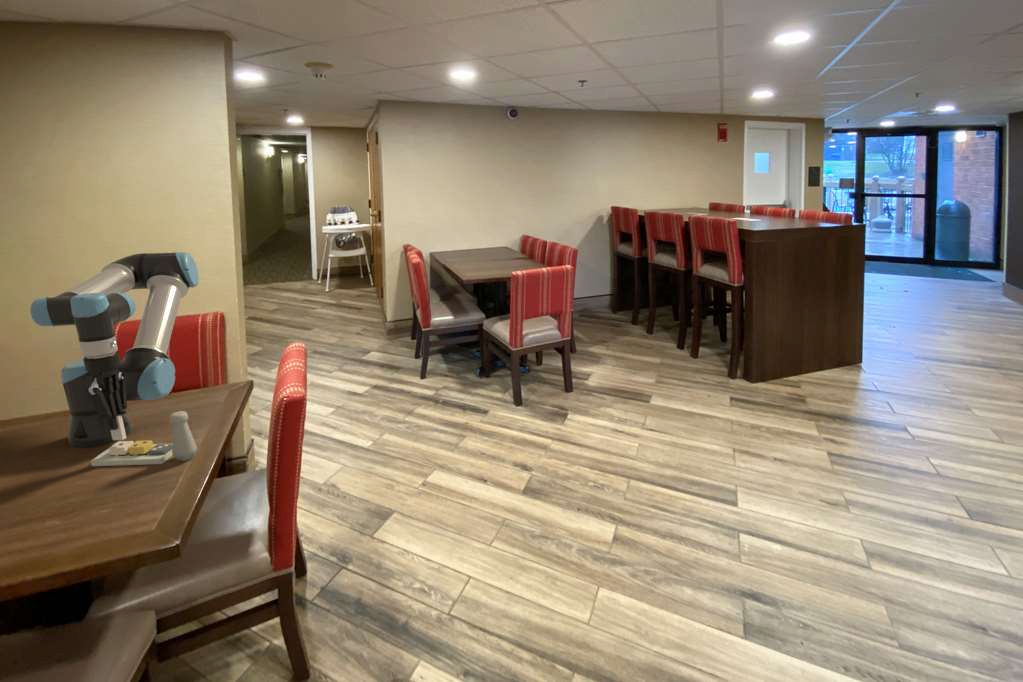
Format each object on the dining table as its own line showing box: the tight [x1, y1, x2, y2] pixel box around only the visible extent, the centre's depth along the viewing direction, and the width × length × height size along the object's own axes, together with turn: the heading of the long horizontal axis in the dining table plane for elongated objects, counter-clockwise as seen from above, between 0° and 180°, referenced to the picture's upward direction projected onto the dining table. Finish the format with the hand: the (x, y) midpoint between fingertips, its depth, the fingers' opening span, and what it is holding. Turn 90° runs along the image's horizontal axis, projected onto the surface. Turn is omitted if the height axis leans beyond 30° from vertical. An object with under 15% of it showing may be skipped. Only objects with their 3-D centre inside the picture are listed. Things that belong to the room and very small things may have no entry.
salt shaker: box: [168, 410, 198, 462], centre depth 149 cm, size 6×6×13 cm
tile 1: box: [108, 440, 135, 456], centre depth 151 cm, size 4×4×2 cm
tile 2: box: [128, 439, 154, 455], centre depth 151 cm, size 4×4×2 cm
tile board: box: [90, 443, 174, 467], centre depth 151 cm, size 18×9×2 cm, turn 92°
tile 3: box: [148, 443, 172, 455], centre depth 151 cm, size 4×4×2 cm
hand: (119, 438), depth 150 cm, fingers closed
